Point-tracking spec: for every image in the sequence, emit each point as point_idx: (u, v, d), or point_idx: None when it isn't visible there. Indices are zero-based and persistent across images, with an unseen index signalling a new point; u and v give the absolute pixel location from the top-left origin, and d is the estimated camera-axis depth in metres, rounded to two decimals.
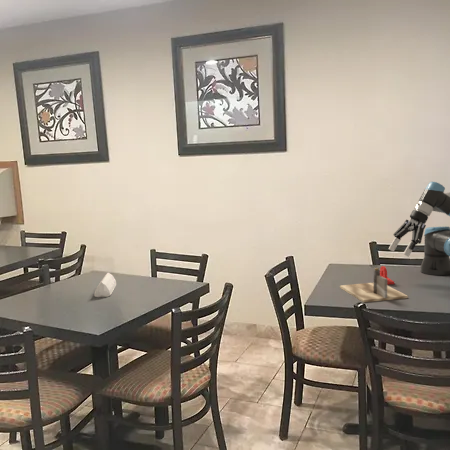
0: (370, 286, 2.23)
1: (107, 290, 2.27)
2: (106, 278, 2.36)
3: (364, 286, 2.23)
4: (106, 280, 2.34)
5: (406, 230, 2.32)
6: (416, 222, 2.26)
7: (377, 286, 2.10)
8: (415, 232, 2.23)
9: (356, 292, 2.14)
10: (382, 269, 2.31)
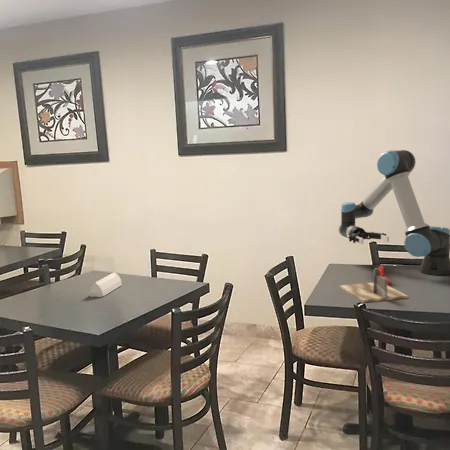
0: (370, 286, 2.23)
1: (100, 291, 2.26)
2: (106, 278, 2.36)
3: (364, 286, 2.23)
4: (104, 280, 2.34)
5: (370, 236, 2.54)
6: None
7: (377, 286, 2.10)
8: None
9: (356, 292, 2.14)
10: (380, 269, 2.32)
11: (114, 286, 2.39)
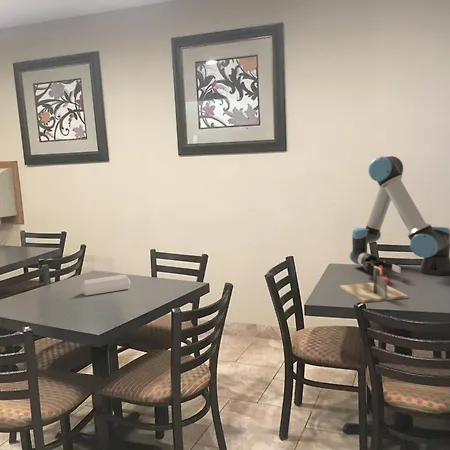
0: (370, 286, 2.23)
1: (85, 289, 2.30)
2: (105, 278, 2.36)
3: (364, 286, 2.23)
4: (99, 280, 2.34)
5: (382, 265, 2.42)
6: None
7: (377, 286, 2.10)
8: None
9: (356, 292, 2.14)
10: None
11: (112, 288, 2.35)
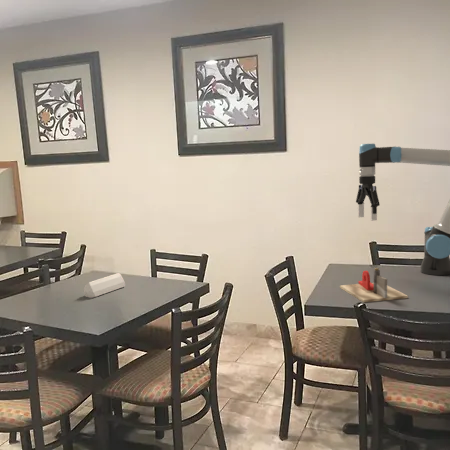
0: None
1: None
2: None
3: None
4: None
5: (363, 195, 2.45)
6: (367, 186, 2.38)
7: (377, 286, 2.10)
8: (371, 196, 2.37)
9: (356, 292, 2.14)
10: (365, 274, 2.19)
11: None
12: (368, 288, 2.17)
